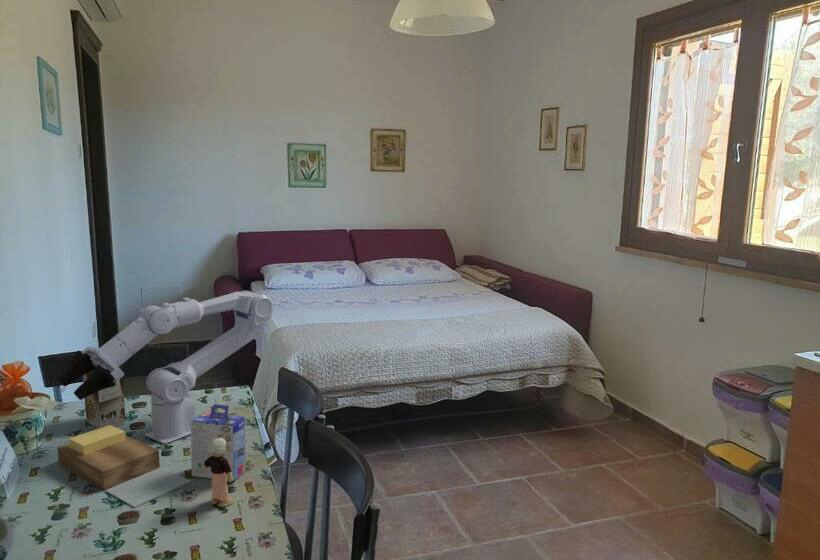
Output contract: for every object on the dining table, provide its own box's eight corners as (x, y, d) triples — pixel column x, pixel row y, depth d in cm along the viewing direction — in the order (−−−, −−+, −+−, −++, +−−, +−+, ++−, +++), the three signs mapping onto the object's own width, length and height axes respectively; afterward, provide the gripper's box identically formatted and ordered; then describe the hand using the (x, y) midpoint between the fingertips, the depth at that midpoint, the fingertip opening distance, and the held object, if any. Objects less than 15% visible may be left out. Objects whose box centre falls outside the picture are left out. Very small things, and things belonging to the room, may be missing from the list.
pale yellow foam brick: (110, 433, 134) (110, 424, 134) (125, 440, 131) (125, 431, 130) (69, 447, 127) (68, 438, 126) (84, 454, 123) (83, 445, 123)
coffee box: (127, 423, 149) (123, 361, 146) (100, 431, 144) (95, 367, 142) (111, 414, 155) (108, 354, 152) (85, 421, 150) (80, 359, 148)
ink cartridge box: (247, 470, 127) (246, 405, 125) (234, 482, 121) (233, 415, 119) (205, 464, 129) (202, 400, 126) (190, 477, 123) (188, 410, 121)
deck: (113, 445, 137) (112, 428, 136) (159, 467, 127) (158, 450, 126) (58, 464, 127) (57, 447, 126) (104, 490, 117) (102, 471, 116)
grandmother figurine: (242, 500, 115) (241, 437, 113) (230, 510, 111) (228, 446, 109) (209, 492, 117) (207, 431, 115) (196, 502, 114) (194, 439, 112)
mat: (161, 468, 127) (161, 467, 127) (190, 482, 121) (190, 481, 121) (105, 491, 117) (105, 490, 117) (134, 508, 111) (134, 506, 111)
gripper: (98, 323, 134) (43, 365, 127) (129, 344, 126) (72, 390, 119) (115, 344, 139) (62, 386, 132) (146, 366, 130) (92, 412, 123)
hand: (68, 389), depth 126 cm, fingers open, 7 cm apart
